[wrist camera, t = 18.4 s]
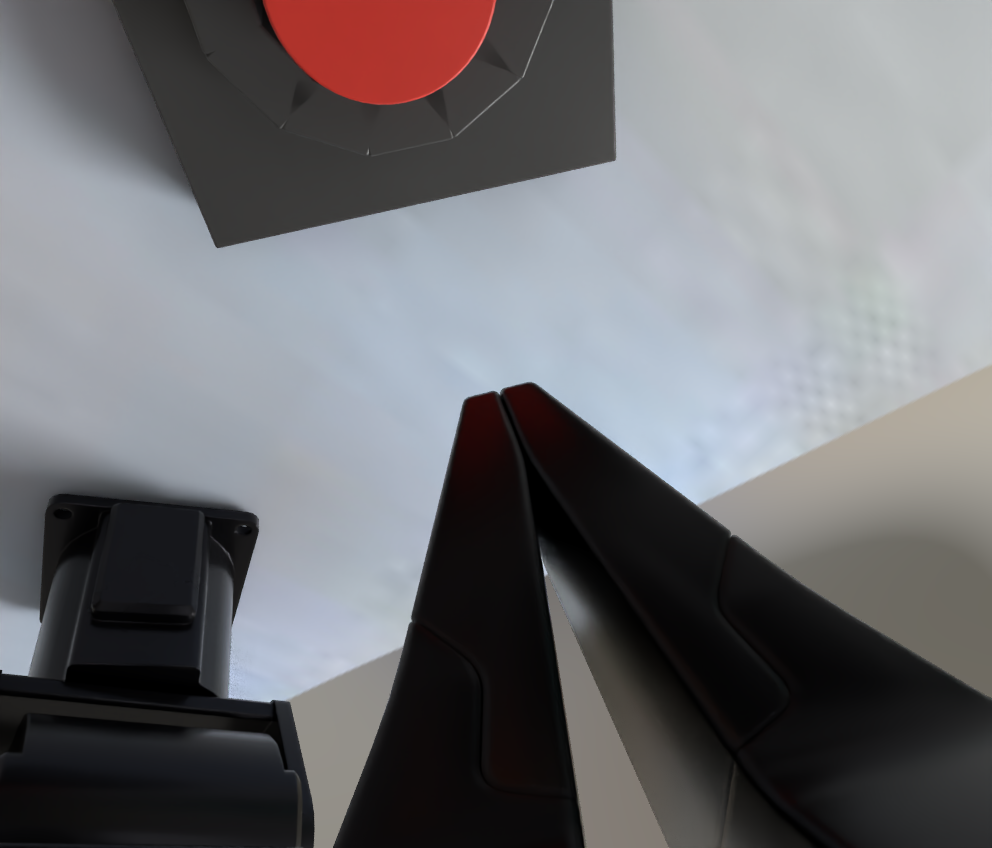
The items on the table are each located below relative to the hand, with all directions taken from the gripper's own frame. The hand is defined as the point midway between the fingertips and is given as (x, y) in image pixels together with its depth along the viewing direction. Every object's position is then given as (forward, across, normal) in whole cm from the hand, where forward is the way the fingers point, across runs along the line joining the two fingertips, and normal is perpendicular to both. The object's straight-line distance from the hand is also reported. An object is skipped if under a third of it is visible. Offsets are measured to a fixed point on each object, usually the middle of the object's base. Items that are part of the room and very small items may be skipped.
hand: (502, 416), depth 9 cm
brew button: (+10, 0, -3) cm, 10 cm away
